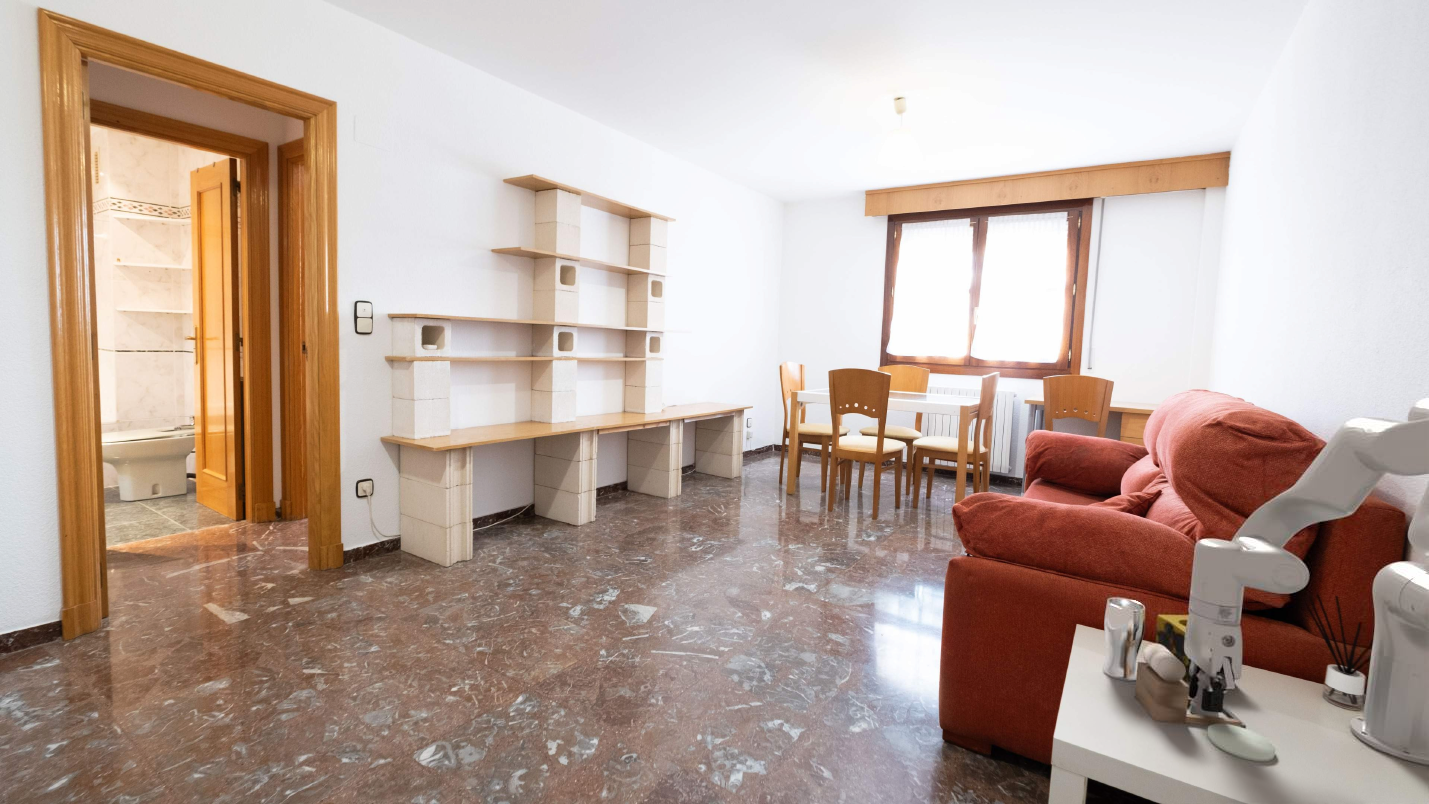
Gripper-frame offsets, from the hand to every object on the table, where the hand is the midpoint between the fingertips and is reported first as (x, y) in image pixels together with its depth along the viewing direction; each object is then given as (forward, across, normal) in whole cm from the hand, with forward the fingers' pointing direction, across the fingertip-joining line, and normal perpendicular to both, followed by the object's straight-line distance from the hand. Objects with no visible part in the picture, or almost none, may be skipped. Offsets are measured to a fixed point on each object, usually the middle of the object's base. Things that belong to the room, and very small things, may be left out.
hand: (1204, 703), depth 121 cm
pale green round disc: (+2, -9, -1) cm, 9 cm away
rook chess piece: (+2, 0, 0) cm, 2 cm away
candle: (+2, +18, -7) cm, 19 cm away
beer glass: (+2, +13, +9) cm, 16 cm away
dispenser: (+2, 0, +3) cm, 3 cm away
